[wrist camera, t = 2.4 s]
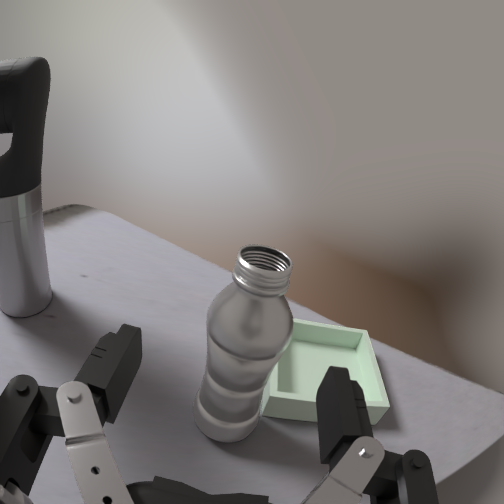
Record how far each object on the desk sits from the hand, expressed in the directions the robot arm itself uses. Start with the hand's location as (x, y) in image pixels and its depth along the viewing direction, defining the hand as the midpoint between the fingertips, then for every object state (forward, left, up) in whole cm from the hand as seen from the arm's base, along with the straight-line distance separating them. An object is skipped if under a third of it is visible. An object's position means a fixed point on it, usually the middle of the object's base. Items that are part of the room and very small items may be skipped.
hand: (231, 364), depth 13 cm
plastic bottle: (+1, +9, -20) cm, 22 cm away
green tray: (+12, +18, -20) cm, 29 cm away
